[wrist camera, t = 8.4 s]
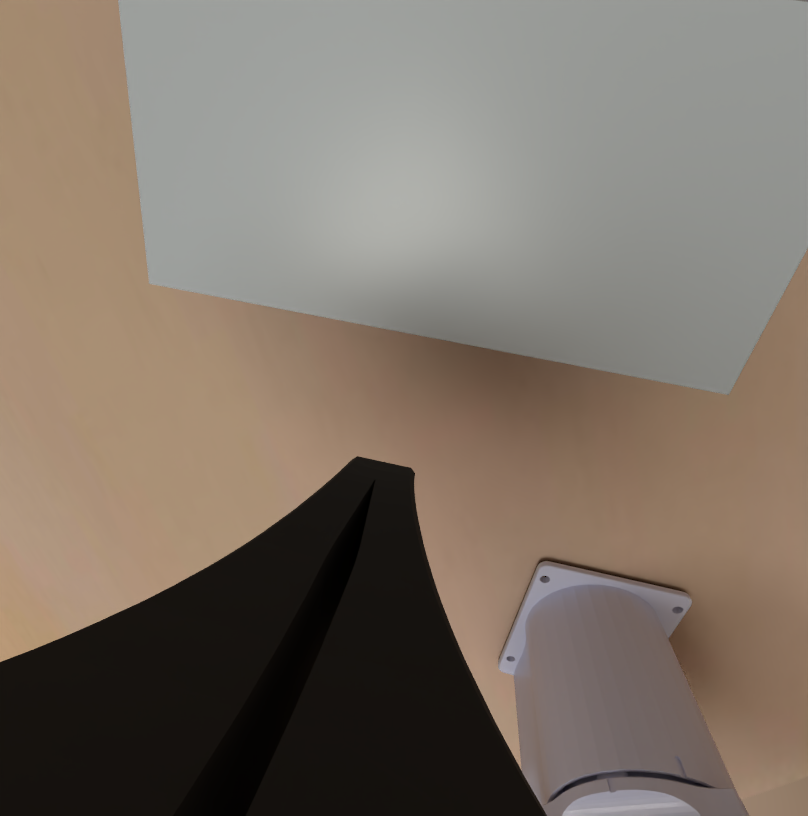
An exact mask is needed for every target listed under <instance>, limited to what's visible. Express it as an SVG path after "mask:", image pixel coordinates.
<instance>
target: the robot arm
mask: <svg viewBox="0 0 808 816" xmlns="http://www.w3.org/2000/svg"><path fill="white" fill-rule="evenodd" d="M414 476H415V473H414V471H413V470H412V469H411V468H409V467H404V466H399V465H395V464H390V463H386V462H381V461H376V460H372V459H367V458H362V457H358V456H357V457H356V458H354V459H352V460H351V461H350V462H349V463H348V464H347V465H346V466H345V467H344V468H343V469H342V470H341V471H340V472H339V473H337V474H336V475H335V476H334V477H333V478H332V479H331V480H330V481H328V482H327V483H326V484H325V485H324V486H323V487H322V488H320V489H319V490H318V491H317V492H315V493H314V494H313V495H312V496H311V497H309V498H308V499H307V500H306V501H304V502H303V503H302V504H301V505H299V506H298V507H297V508H296V509H294V510H293V511H292V512H290V513H289V514H288V515H286V516H285V517H283V518H282V519H281V520H279V521H278V522H277V523H275V524H274V525H272V526H271V527H270V528H268V529H267V530H265V531H264V532H263V533H261V534H260V535H258V536H257V537H255V538H254V539H252V540H251V541H249V542H248V543H246V544H245V545H243V546H242V547H240V548H238V549H237V550H235V551H234V552H232V553H230V554H229V555H227V556H225V557H224V558H222V559H220V560H219V561H217V562H215V563H214V564H212V565H210V566H209V567H207V568H205V569H203V570H201V571H199V572H198V573H196V574H194V575H192V576H190V577H188V578H187V579H185V580H183V581H181V582H179V583H178V584H176V585H174V586H172V587H170V588H168V589H166V590H164V591H162V592H160V593H158V594H157V595H155V596H153V597H151V598H149V599H147V600H145V601H142V602H140V603H138V604H136V605H134V606H132V607H130V608H127V609H125V610H123V611H121V612H119V613H116V614H114V615H112V616H110V617H108V618H106V619H103V620H101V621H99V622H97V623H95V624H92V625H90V626H88V627H86V628H83V629H81V630H79V631H76V632H74V633H72V634H70V635H67V636H65V637H63V638H60V639H58V640H55V641H53V642H51V643H48V644H46V645H43V646H41V647H38V648H36V649H34V650H31V651H28V652H26V653H23V654H20V655H18V656H15V657H13V658H10V659H7V660H5V661H2V662H0V816H749V814H748V812H747V810H746V808H745V806H744V805H743V803H742V801H741V799H740V797H739V795H738V793H737V791H736V789H735V787H734V785H733V782H732V780H731V778H730V776H729V773H728V771H727V769H726V767H725V764H724V762H723V760H722V758H721V755H720V753H719V751H718V749H717V747H716V744H715V742H714V740H713V738H712V735H711V733H710V731H709V729H708V726H707V724H706V722H705V720H704V717H703V715H702V713H701V711H700V709H699V706H698V704H697V702H696V700H695V697H694V695H693V693H692V691H691V688H690V686H689V684H688V682H687V680H686V677H685V675H684V673H683V671H682V668H681V666H680V664H679V662H678V659H677V657H676V655H675V653H674V650H673V648H672V646H671V644H670V642H669V637H670V636H671V634H672V633H673V631H674V630H675V628H676V627H677V625H678V624H679V623H680V621H681V620H682V618H683V617H684V615H685V614H686V612H687V611H688V609H689V608H690V606H691V605H692V600H691V598H690V596H689V595H688V594H687V593H685V592H682V591H678V590H674V589H669V588H665V587H660V586H656V585H651V584H647V583H643V582H638V581H634V580H629V579H625V578H621V577H616V576H612V575H607V574H603V573H599V572H594V571H590V570H585V569H581V568H576V567H572V566H568V565H563V564H559V563H554V562H550V561H544V562H541V563H539V564H538V566H537V568H536V571H535V573H534V575H533V578H532V580H531V583H530V585H529V588H528V590H527V593H526V595H525V597H524V600H523V602H522V605H521V607H520V610H519V612H518V615H517V617H516V619H515V622H514V624H513V627H512V629H511V632H510V634H509V636H508V639H507V641H506V644H505V646H504V649H503V651H502V654H501V656H500V658H499V661H498V668H499V670H500V671H502V672H504V673H507V674H511V675H514V683H515V695H516V707H517V719H518V732H519V744H520V756H521V768H522V771H521V769H520V767H519V765H518V764H517V762H516V760H515V758H514V756H513V754H512V752H511V751H510V749H509V747H508V745H507V743H506V741H505V740H504V738H503V736H502V734H501V732H500V730H499V728H498V727H497V725H496V723H495V721H494V719H493V717H492V715H491V713H490V710H489V708H488V706H487V704H486V702H485V700H484V698H483V696H482V694H481V692H480V690H479V688H478V686H477V684H476V682H475V680H474V678H473V676H472V673H471V671H470V669H469V667H468V665H467V663H466V661H465V659H464V657H463V654H462V652H461V650H460V647H459V645H458V643H457V640H456V638H455V636H454V633H453V631H452V628H451V626H450V623H449V621H448V618H447V616H446V613H445V610H444V608H443V605H442V603H441V600H440V597H439V594H438V591H437V588H436V585H435V582H434V579H433V576H432V573H431V569H430V566H429V562H428V559H427V556H426V552H425V548H424V544H423V540H422V535H421V531H420V526H419V522H418V516H417V510H416V503H415V494H414ZM542 576H547V577H542Z"/></svg>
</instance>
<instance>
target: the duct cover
mask: <svg viewBox="0 0 808 816" xmlns="http://www.w3.org/2000/svg"><path fill="white" fill-rule="evenodd" d="M118 3H119V12H120V21H121V30H122V39H123V48H124V58H125V67H126V76H127V85H128V94H129V103H130V112H131V121H132V130H133V139H134V149H135V158H136V167H137V176H138V185H139V194H140V203H141V212H142V221H143V230H144V240H145V249H146V258H147V267H148V276H149V284H153V285H159V286H164V287H169V288H174V289H180V290H185V291H190V292H195V293H200V294H206V295H211V296H216V297H221V298H226V299H232V300H237V301H242V302H247V303H252V304H258V305H263V306H268V307H273V308H278V309H284V310H289V311H294V312H299V313H305V314H310V315H315V316H320V317H325V318H331V319H336V320H341V321H346V322H351V323H357V324H362V325H367V326H372V327H377V328H383V329H388V330H393V331H398V332H403V333H409V334H414V335H419V336H424V337H430V338H435V339H440V340H445V341H450V342H456V343H461V344H466V345H471V346H476V347H482V348H487V349H492V350H497V351H502V352H508V353H513V354H518V355H523V356H528V357H534V358H539V359H544V360H549V361H554V362H560V363H565V364H570V365H575V366H581V367H586V368H591V369H596V370H601V371H607V372H612V373H617V374H622V375H627V376H633V377H638V378H643V379H648V380H653V381H659V382H664V383H669V384H674V385H679V386H685V387H690V388H695V389H700V390H706V391H711V392H716V393H721V394H726V395H729V393H730V392H731V390H732V388H733V386H734V384H735V382H736V380H737V379H738V377H739V375H740V373H741V371H742V369H743V367H744V366H745V364H746V362H747V360H748V358H749V356H750V354H751V353H752V351H753V349H754V347H755V345H756V343H757V341H758V340H759V338H760V336H761V334H762V332H763V330H764V328H765V327H766V325H767V323H768V321H769V319H770V317H771V315H772V314H773V312H774V310H775V308H776V306H777V304H778V302H779V301H780V299H781V297H782V295H783V293H784V291H785V289H786V288H787V286H788V284H789V282H790V280H791V278H792V276H793V275H794V273H795V271H796V269H797V267H798V265H799V263H800V262H801V260H802V258H803V256H804V254H805V252H806V250H807V249H808V2H804V1H796V0H118Z"/></svg>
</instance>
